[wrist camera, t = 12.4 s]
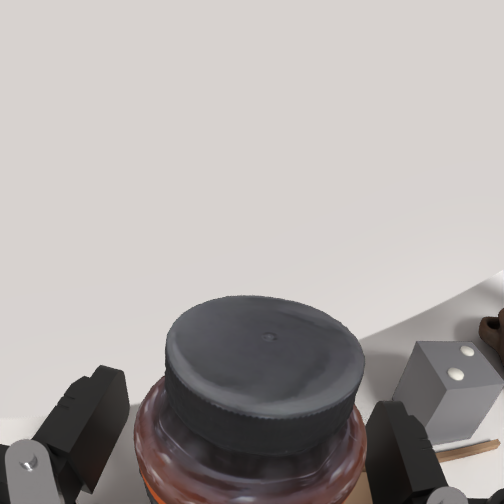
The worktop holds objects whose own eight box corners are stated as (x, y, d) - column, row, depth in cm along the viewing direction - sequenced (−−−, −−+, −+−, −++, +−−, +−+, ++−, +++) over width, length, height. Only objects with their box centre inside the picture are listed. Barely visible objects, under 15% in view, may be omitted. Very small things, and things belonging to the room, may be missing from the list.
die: (446, 393, 20) (472, 339, 18) (470, 438, 15) (507, 381, 13) (391, 396, 20) (416, 338, 18) (411, 448, 15) (447, 388, 13)
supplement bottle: (190, 470, 13) (188, 260, 10) (306, 496, 12) (389, 296, 8) (144, 561, 7) (47, 378, 4) (287, 597, 6) (444, 472, 3)
